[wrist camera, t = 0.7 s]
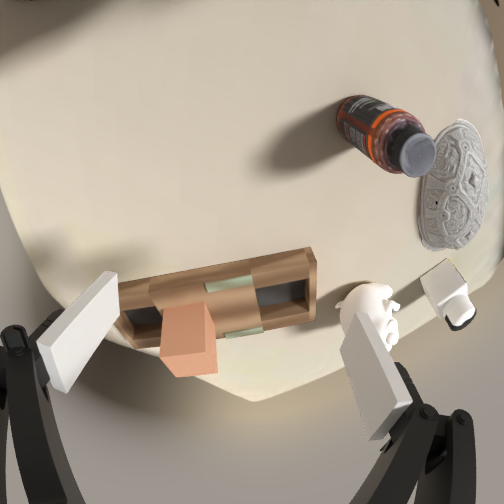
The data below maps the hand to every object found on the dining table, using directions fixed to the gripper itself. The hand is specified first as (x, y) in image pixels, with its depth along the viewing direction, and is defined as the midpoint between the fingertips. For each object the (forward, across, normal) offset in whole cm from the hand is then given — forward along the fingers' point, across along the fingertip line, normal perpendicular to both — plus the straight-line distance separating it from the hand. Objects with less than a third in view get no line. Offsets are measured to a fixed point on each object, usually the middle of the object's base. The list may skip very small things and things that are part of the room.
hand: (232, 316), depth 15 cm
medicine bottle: (+31, +38, -7) cm, 49 cm away
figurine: (+29, +21, -12) cm, 38 cm away
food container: (+25, +30, +10) cm, 40 cm away
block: (+22, -6, -16) cm, 28 cm away
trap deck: (+25, -4, -14) cm, 29 cm away
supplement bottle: (+19, +10, +14) cm, 26 cm away
